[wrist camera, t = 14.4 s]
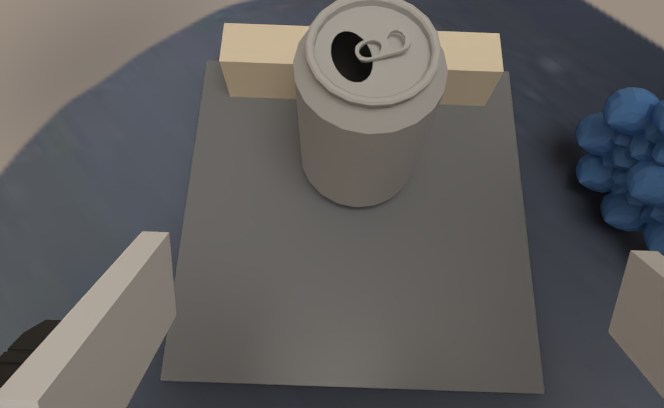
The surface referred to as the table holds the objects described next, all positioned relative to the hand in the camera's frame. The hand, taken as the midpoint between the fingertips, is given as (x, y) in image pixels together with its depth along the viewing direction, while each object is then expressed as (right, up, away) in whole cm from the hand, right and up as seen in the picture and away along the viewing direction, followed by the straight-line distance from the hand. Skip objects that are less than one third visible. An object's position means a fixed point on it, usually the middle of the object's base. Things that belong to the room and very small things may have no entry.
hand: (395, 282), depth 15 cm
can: (0, +5, +20) cm, 20 cm away
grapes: (+18, +2, +20) cm, 27 cm away
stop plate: (0, +2, +19) cm, 19 cm away
